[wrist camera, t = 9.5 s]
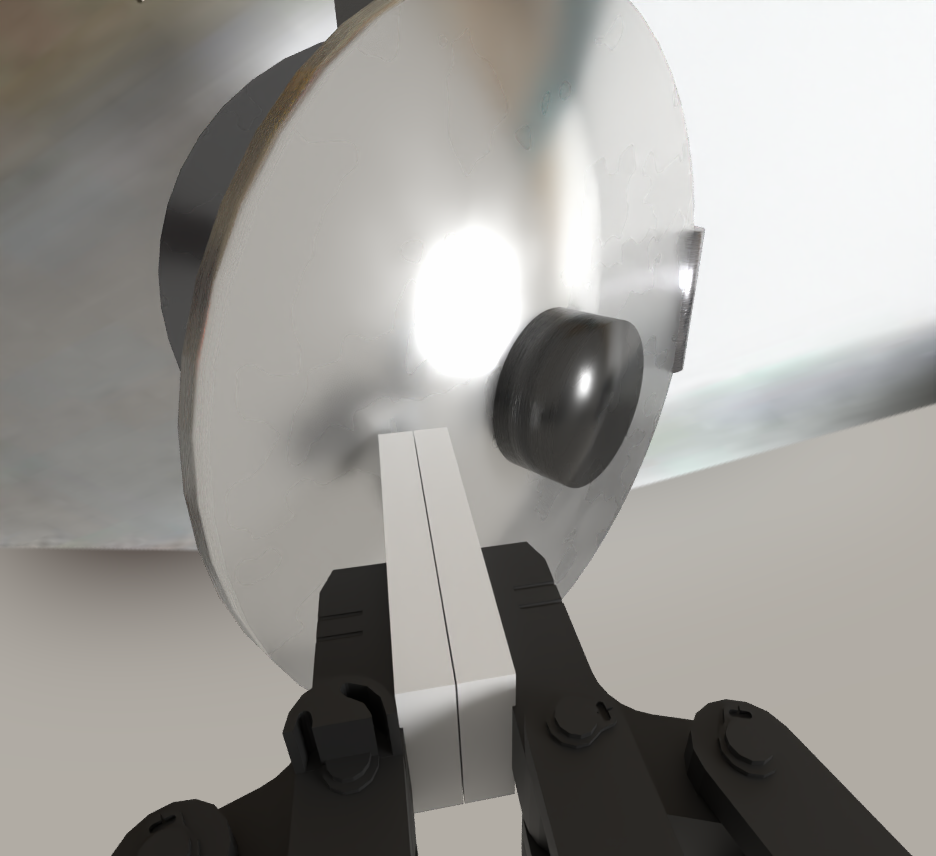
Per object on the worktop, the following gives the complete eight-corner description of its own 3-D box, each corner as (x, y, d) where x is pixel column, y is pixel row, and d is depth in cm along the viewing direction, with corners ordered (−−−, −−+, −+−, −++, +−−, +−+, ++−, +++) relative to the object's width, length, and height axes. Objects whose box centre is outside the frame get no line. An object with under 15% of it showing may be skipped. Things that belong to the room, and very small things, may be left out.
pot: (613, -21, 29) (747, -91, 19) (582, 425, 42) (653, 529, 32) (164, -14, 27) (37, -90, 17) (275, 459, 40) (242, 583, 29)
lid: (702, 6, 21) (806, -8, 19) (638, 486, 31) (701, 511, 29) (-47, -148, 7) (45, -267, 5) (288, 821, 17) (362, 913, 15)
